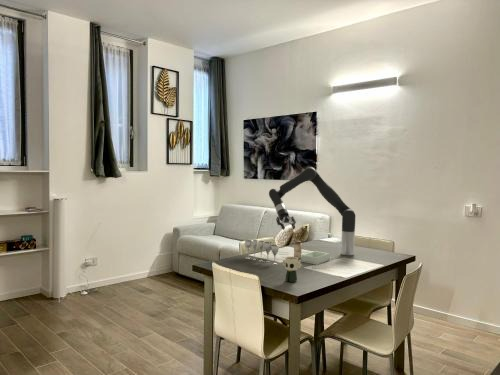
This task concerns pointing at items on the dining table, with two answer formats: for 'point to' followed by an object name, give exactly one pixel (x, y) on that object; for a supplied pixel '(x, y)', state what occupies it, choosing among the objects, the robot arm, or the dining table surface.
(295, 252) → the pepper mill
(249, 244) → the goblet set
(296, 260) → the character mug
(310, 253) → the bin
